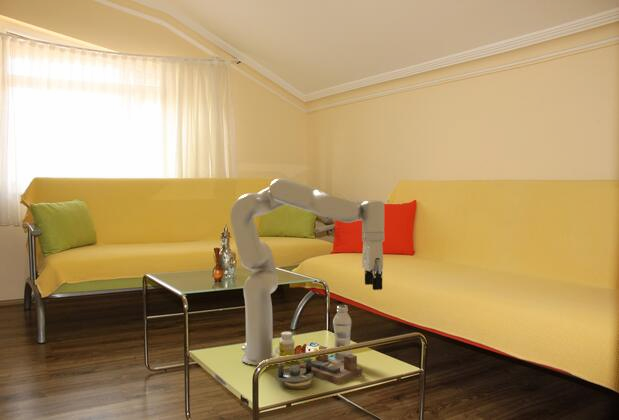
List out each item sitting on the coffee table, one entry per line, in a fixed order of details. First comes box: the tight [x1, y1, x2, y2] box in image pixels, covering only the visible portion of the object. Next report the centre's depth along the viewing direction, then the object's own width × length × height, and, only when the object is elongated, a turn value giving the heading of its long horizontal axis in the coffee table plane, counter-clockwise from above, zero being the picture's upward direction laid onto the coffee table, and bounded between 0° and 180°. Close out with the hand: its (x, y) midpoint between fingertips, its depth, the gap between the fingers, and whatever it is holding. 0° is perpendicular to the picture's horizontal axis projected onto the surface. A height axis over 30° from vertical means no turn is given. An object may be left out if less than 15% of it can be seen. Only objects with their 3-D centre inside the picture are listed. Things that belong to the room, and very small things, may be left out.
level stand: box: [298, 345, 363, 385], centre depth 178 cm, size 18×12×6 cm, turn 45°
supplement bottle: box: [278, 331, 295, 357], centre depth 191 cm, size 5×5×10 cm
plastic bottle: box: [332, 304, 353, 363], centre depth 188 cm, size 6×7×20 cm
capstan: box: [276, 358, 314, 390], centre depth 168 cm, size 12×12×6 cm
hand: (373, 286), depth 181 cm, fingers open, 9 cm apart
